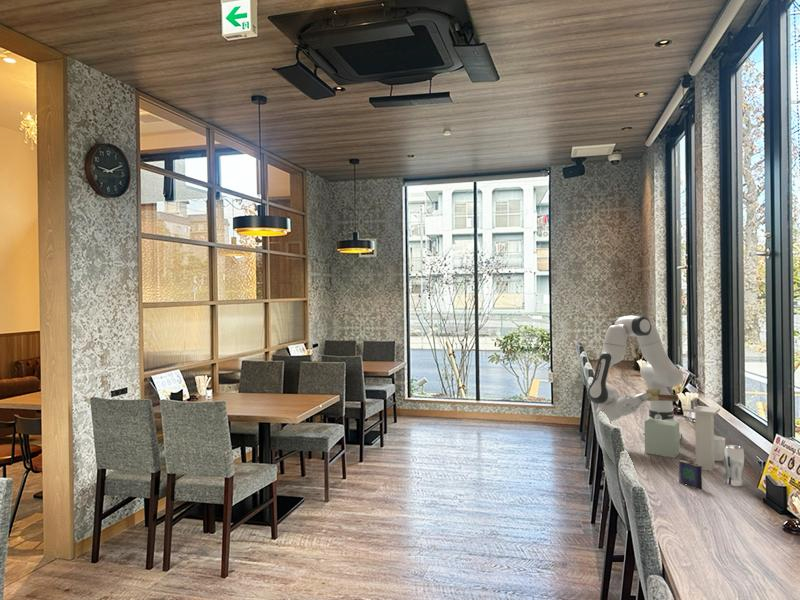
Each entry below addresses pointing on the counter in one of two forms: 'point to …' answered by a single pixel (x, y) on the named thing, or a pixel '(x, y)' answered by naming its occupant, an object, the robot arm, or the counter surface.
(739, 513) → the counter surface
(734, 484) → the beer glass
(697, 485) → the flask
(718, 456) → the white cup
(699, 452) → the tall stand
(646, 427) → the sage pedestal
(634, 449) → the counter surface
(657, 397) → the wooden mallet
